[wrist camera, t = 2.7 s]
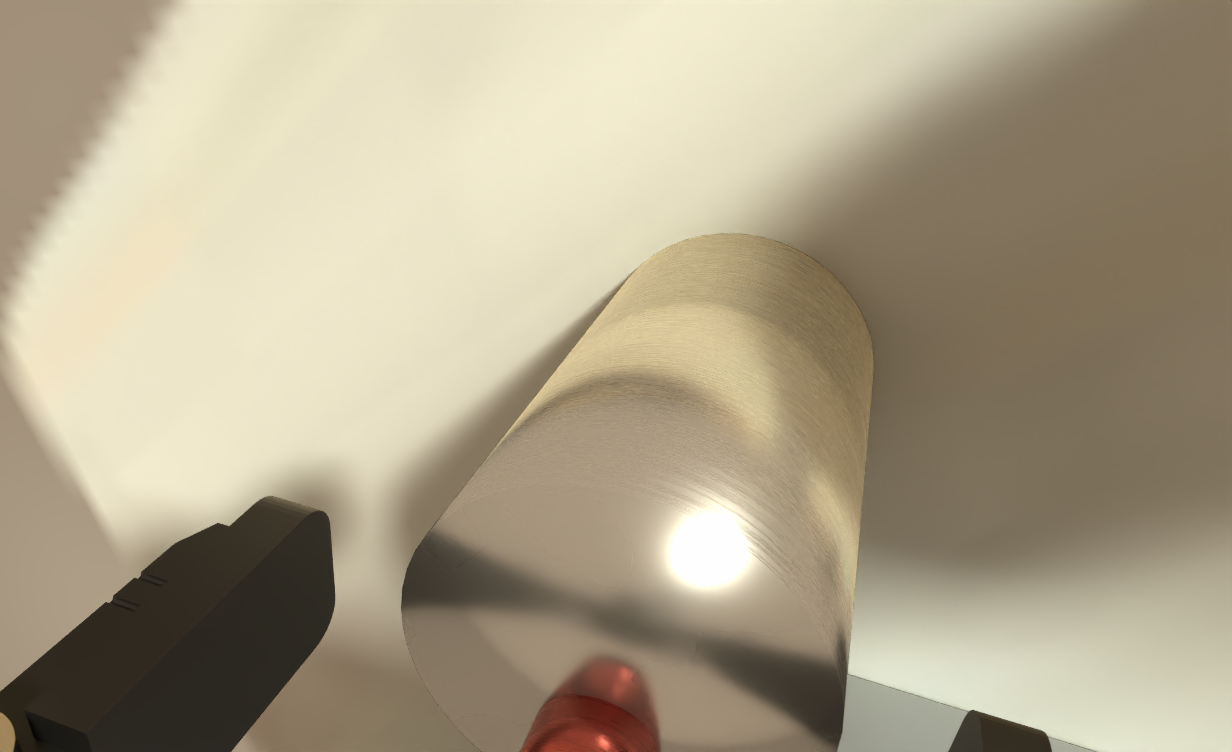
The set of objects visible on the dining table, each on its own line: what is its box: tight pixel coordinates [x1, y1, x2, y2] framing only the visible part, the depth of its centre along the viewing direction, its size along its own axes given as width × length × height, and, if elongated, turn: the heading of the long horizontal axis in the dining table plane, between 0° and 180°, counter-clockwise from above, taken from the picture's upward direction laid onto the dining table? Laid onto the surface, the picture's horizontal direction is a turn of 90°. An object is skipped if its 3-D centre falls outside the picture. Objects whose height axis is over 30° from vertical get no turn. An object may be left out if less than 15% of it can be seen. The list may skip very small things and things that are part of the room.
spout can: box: [401, 233, 874, 752], centre depth 12 cm, size 5×5×9 cm
